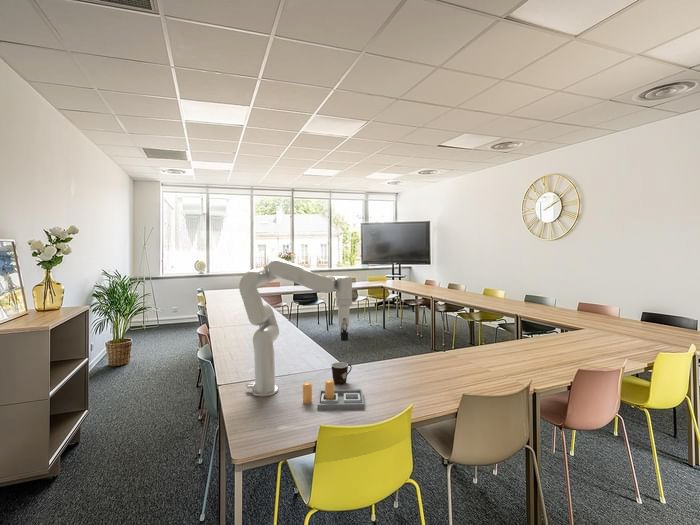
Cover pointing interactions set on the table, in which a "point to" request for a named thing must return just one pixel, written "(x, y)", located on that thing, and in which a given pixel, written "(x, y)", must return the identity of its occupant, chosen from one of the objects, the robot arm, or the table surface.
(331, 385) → the pin
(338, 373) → the coffee mug
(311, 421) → the table surface
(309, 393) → the pin
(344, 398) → the grey pin holder tray
